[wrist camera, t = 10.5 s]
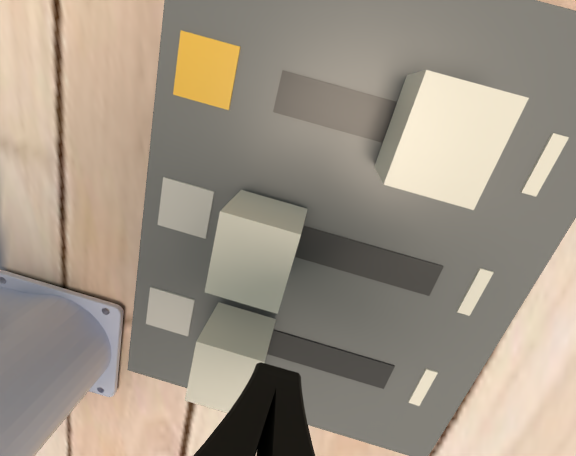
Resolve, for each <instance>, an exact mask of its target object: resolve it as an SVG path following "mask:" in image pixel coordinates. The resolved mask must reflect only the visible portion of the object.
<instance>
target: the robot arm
mask: <svg viewBox="0 0 576 456" xmlns="http://www.w3.org/2000/svg"><path fill="white" fill-rule="evenodd" d="M106 308H107V309H108V310H109V311H108V310H107V309H106ZM123 313H124V312H123V309H122V307H121V306H120V305H117V304H115V303H111V302H108V301H105V300H101V299H98V298H95V297H91V296H88V295H85V294H81V293H78V292H74V291H71V290H68V289H64V288H61V287H58V286H54V285H51V284H48V283H44V282H41V281H38V280H34V279H31V278H28V277H24V276H21V275H18V274H14V273H11V272H8V271H4V270H1V269H0V456H35V455H36V453H37V452H38V451H39V450H40V449H41V447H42V446H43V445H44V444H45V443H46V441H47V440H48V439H49V438H50V437H51V435H52V434H53V433H54V432H55V431H56V429H57V428H58V427H59V426H60V425H61V423H62V422H63V421H64V420H65V419H66V417H67V416H68V415H69V414H70V413H71V411H72V410H73V409H74V408H75V407H76V405H77V404H78V403H79V402H80V401H81V399H82V398H83V397H84V396H85V395H86V393H87V392H88V391H90V392H93V393H97V394H100V395H103V396H107V397H112V396H114V394H115V393H116V391H117V382H118V371H119V359H120V348H121V336H122V325H123ZM256 452H257V456H315V453H314V450H313V446H312V441H311V437H310V433H309V428H308V424H307V419H306V414H305V408H304V402H303V395H302V386H301V376H300V374H299V373H297V372H294V371H290V370H287V369H283V368H280V367H276V366H273V365H269V364H266V363H262V362H260V363H257V364H256V366H255V369H254V371H253V374H252V376H251V378H250V379H249V381H248V383H247V385H246V386H245V388H244V390H243V391H242V393H241V395H240V396H239V398H238V399H237V401H236V402H235V403H234V405H233V406H232V408H231V409H230V411H229V412H228V414H227V415H226V416H225V418H224V419H223V420H222V422H221V423H220V424H219V425H218V427H217V428H216V429H215V430H214V432H213V433H212V434H211V435H210V437H209V438H208V439H207V440H206V442H205V443H204V444H203V445H202V446H201V448H200V449H199V450H198V451H197V452H196V453H195V454H194V456H255V455H256Z"/></svg>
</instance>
